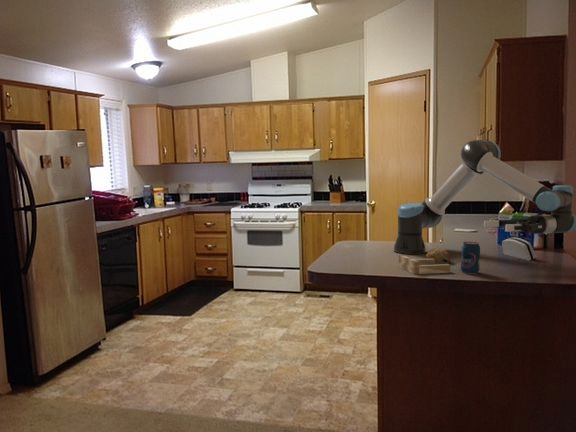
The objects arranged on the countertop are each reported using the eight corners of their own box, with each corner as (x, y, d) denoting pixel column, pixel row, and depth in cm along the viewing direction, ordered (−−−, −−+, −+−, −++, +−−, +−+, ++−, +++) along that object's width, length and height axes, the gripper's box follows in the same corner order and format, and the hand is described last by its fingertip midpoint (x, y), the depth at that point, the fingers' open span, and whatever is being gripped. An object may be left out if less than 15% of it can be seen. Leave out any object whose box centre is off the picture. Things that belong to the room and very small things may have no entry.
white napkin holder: (538, 259, 225) (533, 239, 223) (530, 263, 224) (525, 243, 222) (511, 253, 241) (507, 234, 239) (504, 257, 240) (499, 237, 238)
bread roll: (434, 272, 216) (440, 257, 212) (419, 258, 224) (425, 243, 220) (450, 270, 220) (457, 255, 217) (436, 256, 228) (442, 242, 224)
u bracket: (398, 267, 209) (398, 255, 208) (432, 265, 212) (432, 253, 212) (414, 274, 195) (414, 261, 195) (450, 272, 199) (450, 260, 198)
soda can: (458, 273, 197) (459, 243, 196) (462, 270, 203) (463, 240, 202) (477, 275, 194) (478, 244, 193) (480, 271, 200) (481, 242, 198)
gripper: (563, 237, 192) (515, 239, 187) (519, 229, 216) (476, 231, 211) (564, 218, 191) (516, 219, 186) (520, 212, 215) (476, 213, 211)
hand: (494, 225), depth 199 cm, fingers open, 13 cm apart
